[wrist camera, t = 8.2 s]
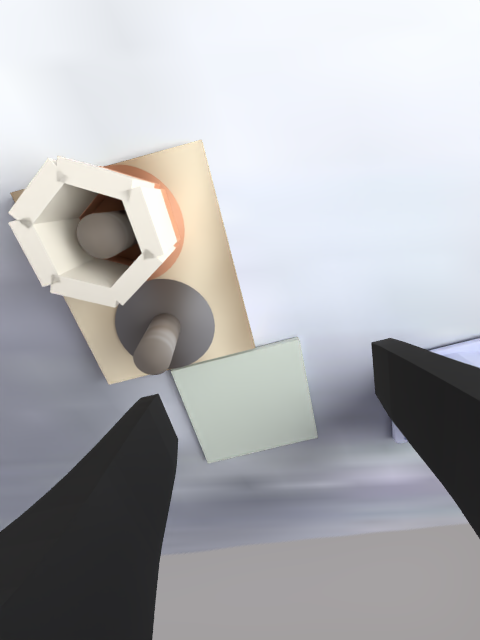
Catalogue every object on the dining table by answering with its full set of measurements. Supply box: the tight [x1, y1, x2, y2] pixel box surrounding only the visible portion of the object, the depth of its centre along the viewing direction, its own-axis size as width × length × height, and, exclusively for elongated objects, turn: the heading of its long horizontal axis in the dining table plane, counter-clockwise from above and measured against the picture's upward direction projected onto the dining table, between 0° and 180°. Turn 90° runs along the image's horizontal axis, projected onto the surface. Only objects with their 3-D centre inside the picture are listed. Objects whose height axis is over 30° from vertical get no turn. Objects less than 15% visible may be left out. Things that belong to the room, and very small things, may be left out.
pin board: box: [10, 140, 255, 385], centre depth 15 cm, size 10×12×5 cm
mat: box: [171, 337, 318, 464], centre depth 22 cm, size 9×9×1 cm
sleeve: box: [8, 156, 181, 308], centre depth 13 cm, size 5×6×5 cm
